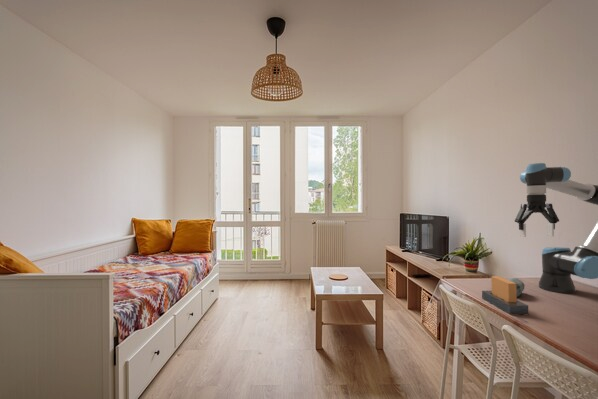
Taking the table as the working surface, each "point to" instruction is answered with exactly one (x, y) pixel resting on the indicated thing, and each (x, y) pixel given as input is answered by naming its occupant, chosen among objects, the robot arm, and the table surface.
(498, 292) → the wooden arch block
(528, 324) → the table surface
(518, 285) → the spool
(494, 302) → the cinder block
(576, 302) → the table surface
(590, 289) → the table surface
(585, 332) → the table surface
